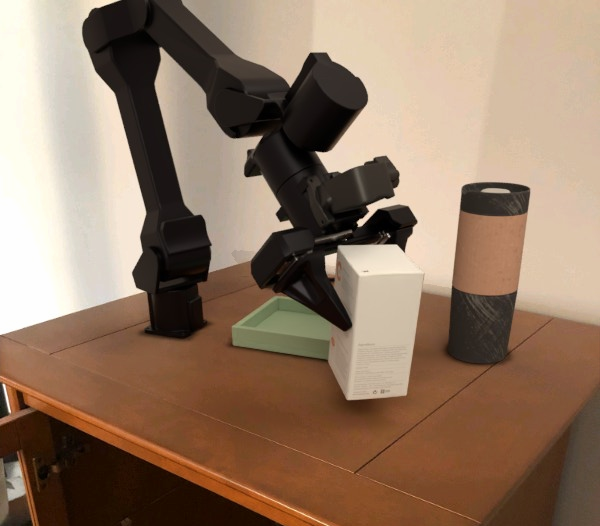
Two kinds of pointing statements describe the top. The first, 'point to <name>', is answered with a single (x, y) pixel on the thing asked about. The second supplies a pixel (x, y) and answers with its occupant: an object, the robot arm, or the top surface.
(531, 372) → the top surface
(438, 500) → the top surface
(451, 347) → the travel mug
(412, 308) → the small box
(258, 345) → the tray
